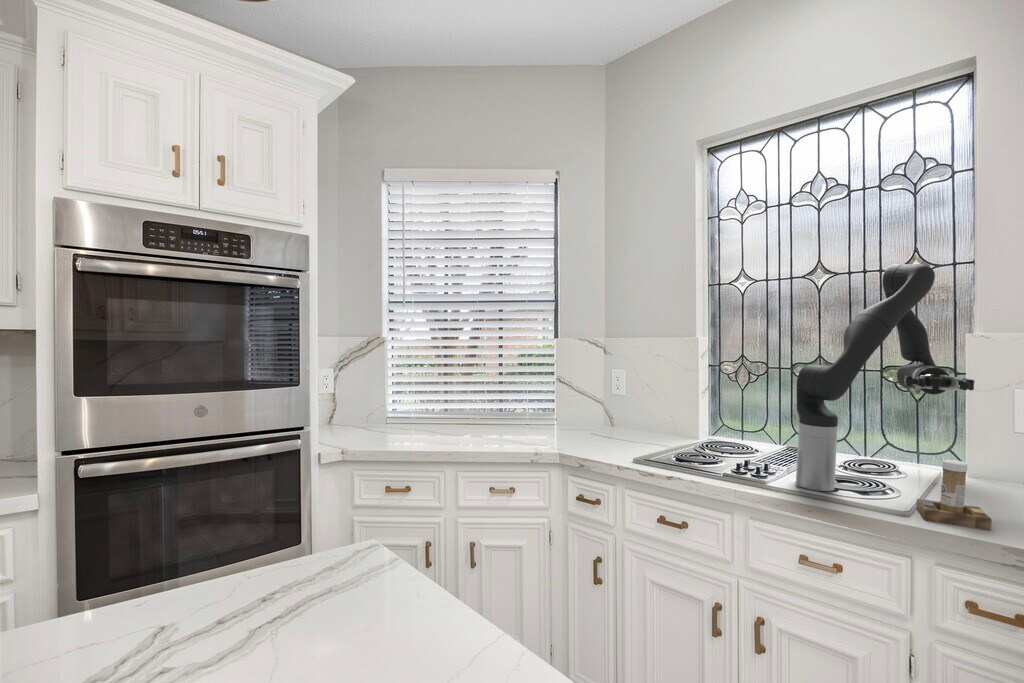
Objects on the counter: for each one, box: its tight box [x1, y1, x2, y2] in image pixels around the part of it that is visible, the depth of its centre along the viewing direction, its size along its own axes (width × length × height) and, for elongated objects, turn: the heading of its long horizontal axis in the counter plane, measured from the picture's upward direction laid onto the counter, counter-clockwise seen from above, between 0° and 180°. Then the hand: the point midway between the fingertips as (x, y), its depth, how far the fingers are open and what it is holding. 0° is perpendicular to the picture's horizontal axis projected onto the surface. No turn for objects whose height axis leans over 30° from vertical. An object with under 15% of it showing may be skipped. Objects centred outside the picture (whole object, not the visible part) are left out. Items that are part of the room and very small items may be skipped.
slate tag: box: [921, 501, 935, 507], centre depth 131 cm, size 2×3×1 cm, turn 153°
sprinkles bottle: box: [939, 459, 968, 513], centre depth 129 cm, size 5×5×13 cm
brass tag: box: [970, 508, 986, 515], centre depth 127 cm, size 2×3×1 cm, turn 153°
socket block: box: [915, 498, 992, 531], centre depth 129 cm, size 12×9×2 cm
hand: (944, 384), depth 141 cm, fingers open, 8 cm apart
